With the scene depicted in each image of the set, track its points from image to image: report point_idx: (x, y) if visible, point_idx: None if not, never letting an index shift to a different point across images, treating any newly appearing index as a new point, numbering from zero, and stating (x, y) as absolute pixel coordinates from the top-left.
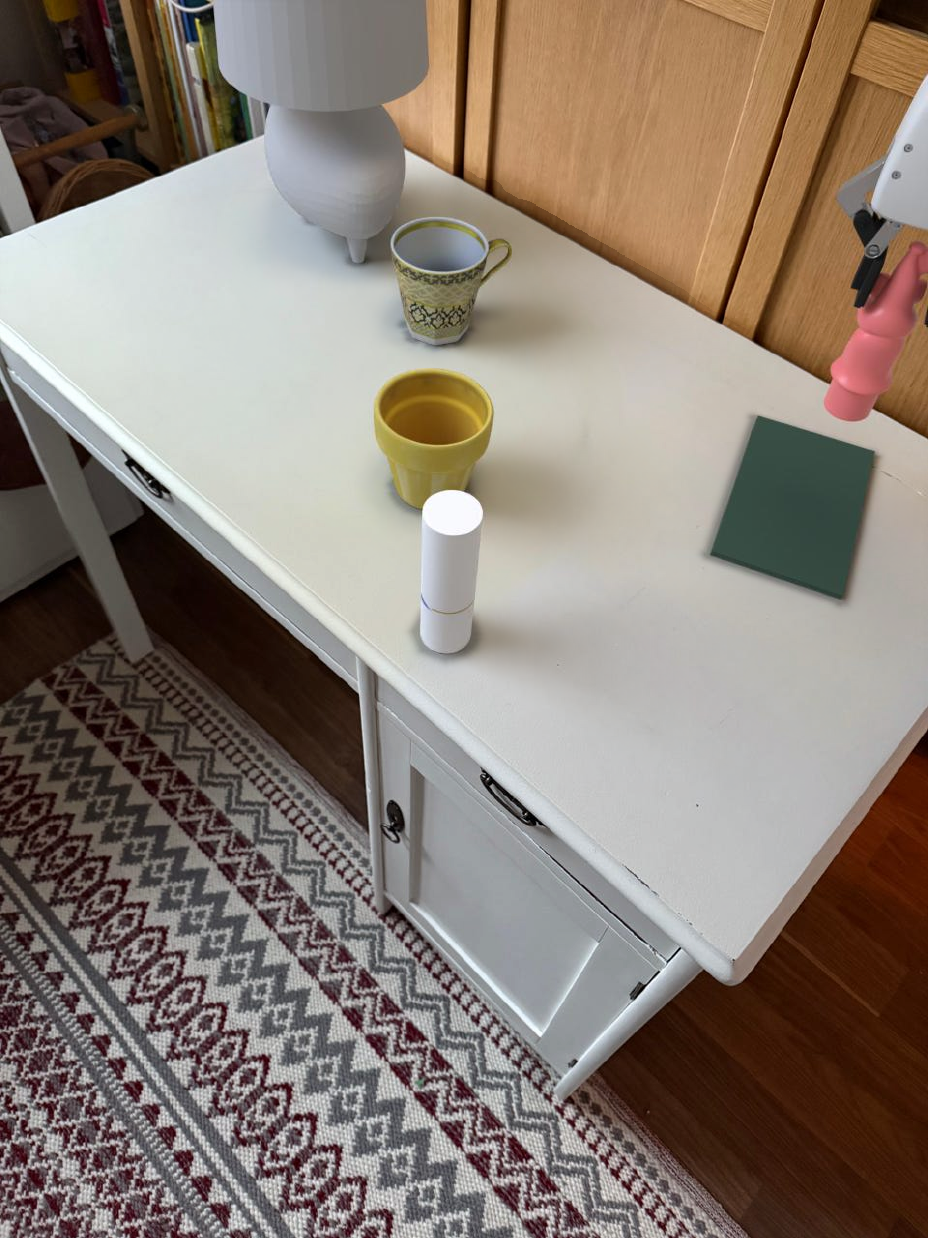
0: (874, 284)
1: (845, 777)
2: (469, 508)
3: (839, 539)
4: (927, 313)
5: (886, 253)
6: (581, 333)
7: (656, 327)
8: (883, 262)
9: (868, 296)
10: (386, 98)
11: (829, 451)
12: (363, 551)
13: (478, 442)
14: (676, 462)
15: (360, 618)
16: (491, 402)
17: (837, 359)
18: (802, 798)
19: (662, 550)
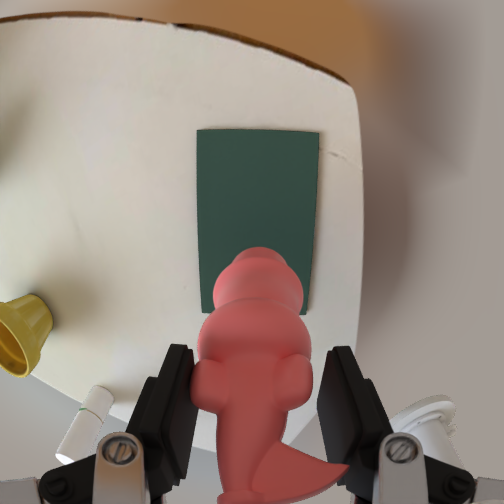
0: (191, 445)
1: (312, 408)
2: (71, 461)
3: (298, 261)
4: (322, 389)
5: (176, 458)
6: (40, 110)
7: (88, 60)
8: (181, 477)
9: (195, 422)
10: None
11: (275, 151)
12: (47, 361)
13: (31, 362)
14: (146, 224)
15: (72, 393)
16: (13, 334)
17: (216, 297)
18: (291, 421)
19: (170, 317)
